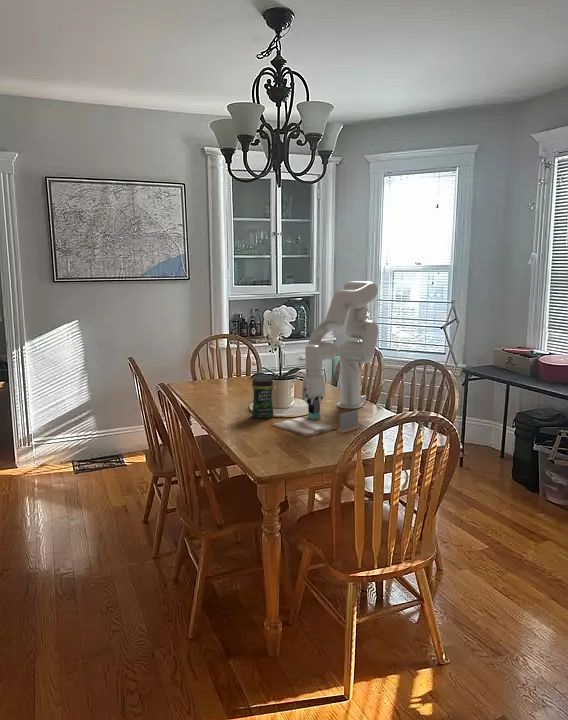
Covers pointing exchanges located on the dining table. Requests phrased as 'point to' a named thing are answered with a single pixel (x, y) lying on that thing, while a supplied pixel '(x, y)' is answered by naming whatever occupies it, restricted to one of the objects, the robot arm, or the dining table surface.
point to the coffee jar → (262, 397)
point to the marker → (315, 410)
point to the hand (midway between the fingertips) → (314, 411)
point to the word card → (348, 421)
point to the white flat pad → (304, 427)
